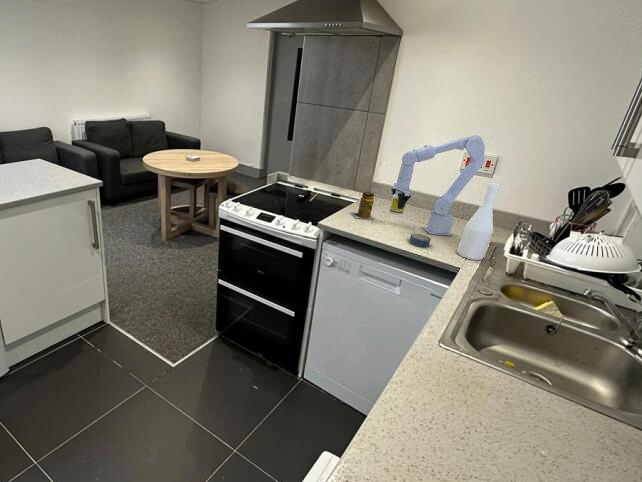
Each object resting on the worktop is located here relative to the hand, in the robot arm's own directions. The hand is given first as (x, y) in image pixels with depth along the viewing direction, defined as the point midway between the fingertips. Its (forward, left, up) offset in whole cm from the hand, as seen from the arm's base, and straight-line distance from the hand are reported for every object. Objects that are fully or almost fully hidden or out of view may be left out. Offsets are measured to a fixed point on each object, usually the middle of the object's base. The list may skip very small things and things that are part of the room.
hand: (397, 206), depth 185 cm
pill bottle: (0, 0, -4) cm, 4 cm away
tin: (-2, +25, -8) cm, 26 cm away
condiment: (+14, -5, -8) cm, 17 cm away
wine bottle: (-19, +34, -8) cm, 40 cm away
